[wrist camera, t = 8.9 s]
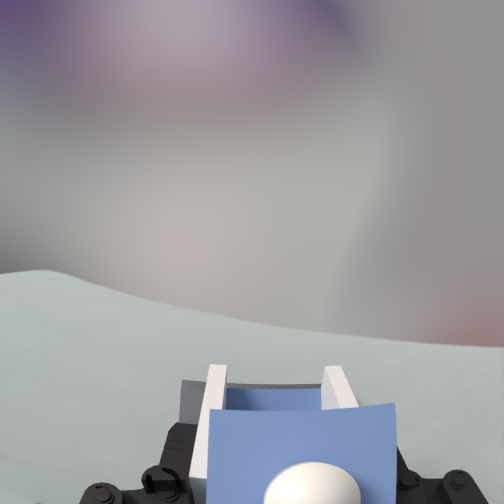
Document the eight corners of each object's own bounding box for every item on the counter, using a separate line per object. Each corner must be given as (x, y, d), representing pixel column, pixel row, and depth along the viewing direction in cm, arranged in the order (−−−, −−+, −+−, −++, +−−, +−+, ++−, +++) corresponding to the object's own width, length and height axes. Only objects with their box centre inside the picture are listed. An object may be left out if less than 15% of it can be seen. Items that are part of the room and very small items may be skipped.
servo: (307, 396, 17) (403, 335, 7) (306, 516, 13) (396, 607, 3) (228, 395, 17) (210, 336, 7) (224, 517, 13) (202, 627, 3)
